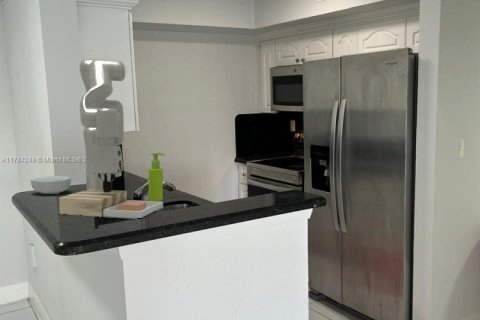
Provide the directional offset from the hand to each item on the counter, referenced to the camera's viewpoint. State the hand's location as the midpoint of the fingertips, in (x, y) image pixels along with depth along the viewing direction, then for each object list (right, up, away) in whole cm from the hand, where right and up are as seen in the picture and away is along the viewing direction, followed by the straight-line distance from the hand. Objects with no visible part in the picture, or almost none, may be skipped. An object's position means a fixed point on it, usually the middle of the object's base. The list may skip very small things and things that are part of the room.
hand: (107, 191), depth 166 cm
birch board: (-5, -7, +2) cm, 9 cm away
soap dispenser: (+14, -5, +24) cm, 28 cm away
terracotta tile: (+10, -4, -2) cm, 11 cm away
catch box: (+10, -7, -1) cm, 13 cm away
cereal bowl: (-37, -4, +38) cm, 53 cm away
